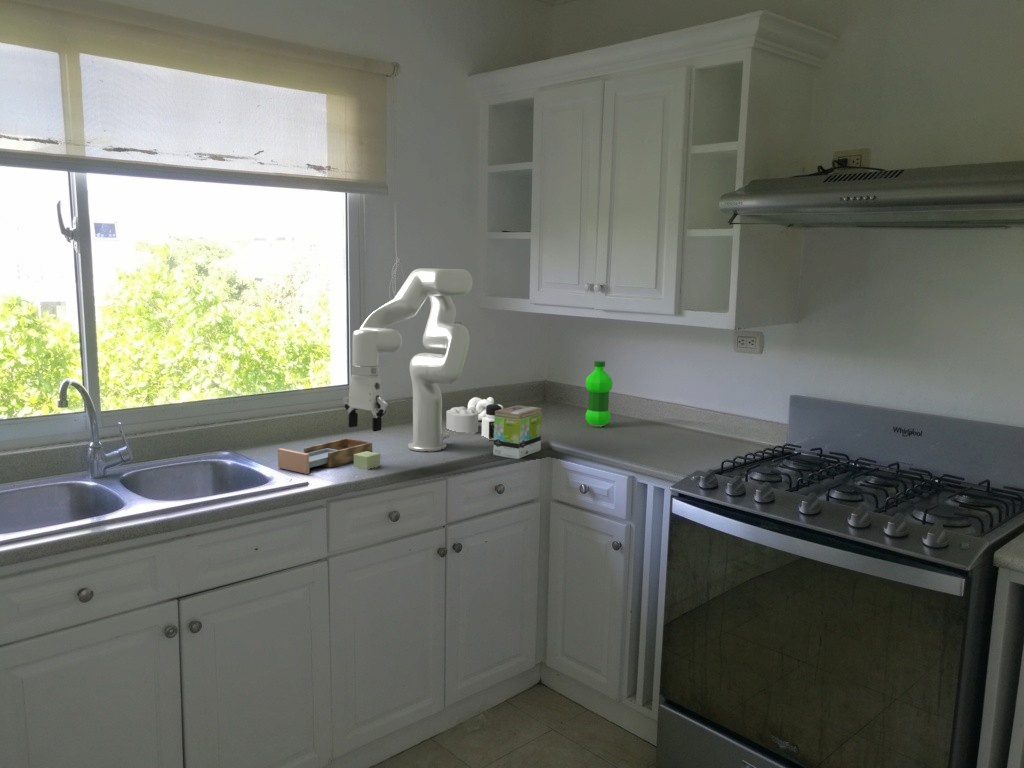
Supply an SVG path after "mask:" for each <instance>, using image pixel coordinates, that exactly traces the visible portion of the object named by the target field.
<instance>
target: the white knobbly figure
mask: <svg viewBox="0 0 1024 768" xmlns="http://www.w3.org/2000/svg"><path fill="white" fill-rule="evenodd" d="M490 404H495V399H494V398H493V397H492V396H489V397H487V398H486V399H485V398H483V399H482V398H480V397H478V396H475V397H472V398H471V399H469V401H468V402H467V409H469V408H470V407H474V408H475V410H476V411H477V412H478V420H482V417H487V416H486V406H487V405H490Z"/></svg>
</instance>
